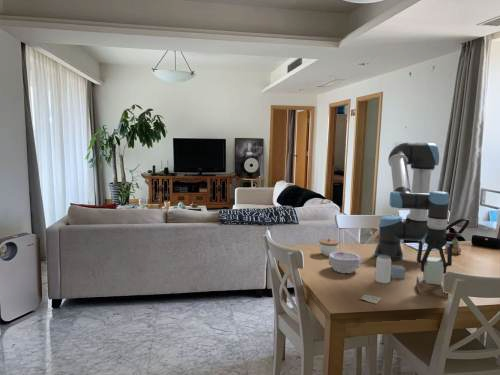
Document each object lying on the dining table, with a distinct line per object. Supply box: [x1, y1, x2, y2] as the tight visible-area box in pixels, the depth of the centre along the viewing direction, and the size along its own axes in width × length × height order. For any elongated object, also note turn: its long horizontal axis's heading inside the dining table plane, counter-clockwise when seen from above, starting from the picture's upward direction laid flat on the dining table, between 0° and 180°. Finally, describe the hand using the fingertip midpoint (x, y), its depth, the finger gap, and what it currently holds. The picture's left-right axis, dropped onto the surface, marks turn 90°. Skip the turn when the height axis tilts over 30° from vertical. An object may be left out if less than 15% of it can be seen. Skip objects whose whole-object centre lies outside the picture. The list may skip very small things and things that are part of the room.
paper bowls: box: [328, 251, 361, 274], centre depth 185 cm, size 15×15×8 cm
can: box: [374, 255, 392, 285], centre depth 171 cm, size 6×6×12 cm
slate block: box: [390, 264, 406, 280], centre depth 178 cm, size 5×5×5 cm
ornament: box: [444, 236, 462, 255], centre depth 219 cm, size 8×6×10 cm
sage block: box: [425, 256, 443, 285], centre depth 160 cm, size 6×6×10 cm
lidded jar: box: [318, 238, 339, 256], centre depth 212 cm, size 11×11×9 cm
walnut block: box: [415, 276, 450, 298], centre depth 161 cm, size 11×11×4 cm
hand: (432, 279), depth 161 cm, fingers closed on sage block, 6 cm apart
